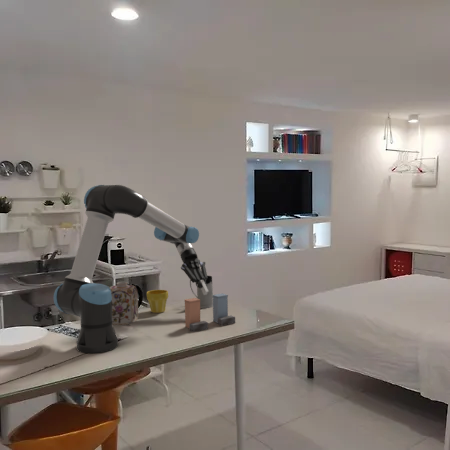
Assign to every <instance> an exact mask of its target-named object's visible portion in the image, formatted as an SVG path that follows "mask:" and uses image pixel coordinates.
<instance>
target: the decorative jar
mask: <svg viewBox="0 0 450 450" xmlns="http://www.w3.org/2000/svg"><path fill="white" fill-rule="evenodd" d="M109 288H110V289H111V295H112V325H113V326H131V324H129V323H134V322H137V320H138V319H139V300H138V299H139V298H138V297H139V296H138V289H137V287H136V286H134V285H131V284H128V281H118V282H116V284H115V285H112V286H110V287H109Z"/></svg>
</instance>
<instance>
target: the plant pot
mask: <svg viewBox="0 0 450 450" xmlns="http://www.w3.org/2000/svg"><path fill="white" fill-rule="evenodd" d="M168 299H169V290H166V289H152V290H148V291H146V300H147V301H148V304H149V308H150V311H151V313H153V314H161V313H164V312H165V311H166V306H167V300H168Z"/></svg>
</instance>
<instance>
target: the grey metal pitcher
mask: <svg viewBox="0 0 450 450" xmlns="http://www.w3.org/2000/svg"><path fill="white" fill-rule="evenodd" d="M207 277H208V278H207V279H206V281H205V282H206V284H207V289H208V291H209V292H208V293H207V295H204V294H203V292H202V290H201V288H199V287H198V285H197V284H195V286H196V293H195V292H194V290H193V287H192V281H191V280H190V279H189V287H190V291H191V293H192V294H193V295H194V297H195V298H197V299H200V309H210V308H213V295H214V291H213V290H214V287H213V286H214V285H213V276H211V275H207Z"/></svg>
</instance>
